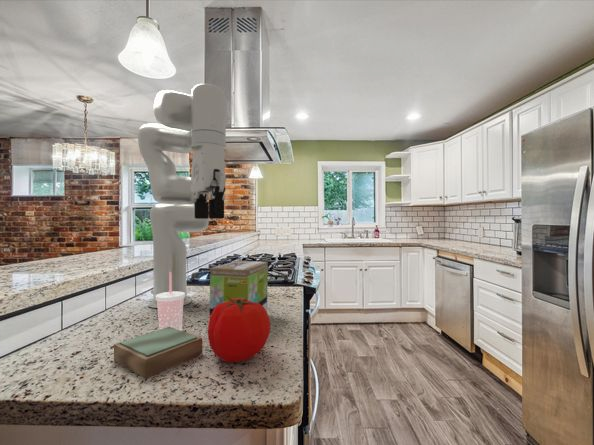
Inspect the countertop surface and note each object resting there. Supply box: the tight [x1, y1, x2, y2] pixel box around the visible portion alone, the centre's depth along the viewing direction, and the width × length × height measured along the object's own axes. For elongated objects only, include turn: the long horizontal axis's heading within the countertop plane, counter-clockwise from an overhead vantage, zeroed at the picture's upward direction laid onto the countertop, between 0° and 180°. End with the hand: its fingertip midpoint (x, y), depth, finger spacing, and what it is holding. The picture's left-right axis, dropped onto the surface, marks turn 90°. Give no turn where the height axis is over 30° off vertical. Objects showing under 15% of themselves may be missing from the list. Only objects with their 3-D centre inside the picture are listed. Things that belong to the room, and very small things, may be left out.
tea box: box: [208, 260, 269, 319], centre depth 76 cm, size 15×10×15 cm, turn 168°
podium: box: [113, 327, 203, 379], centre depth 56 cm, size 11×11×3 cm
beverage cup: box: [156, 272, 185, 331], centre depth 68 cm, size 6×6×14 cm
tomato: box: [207, 296, 271, 364], centre depth 55 cm, size 12×12×11 cm
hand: (208, 218), depth 68 cm, fingers open, 9 cm apart
